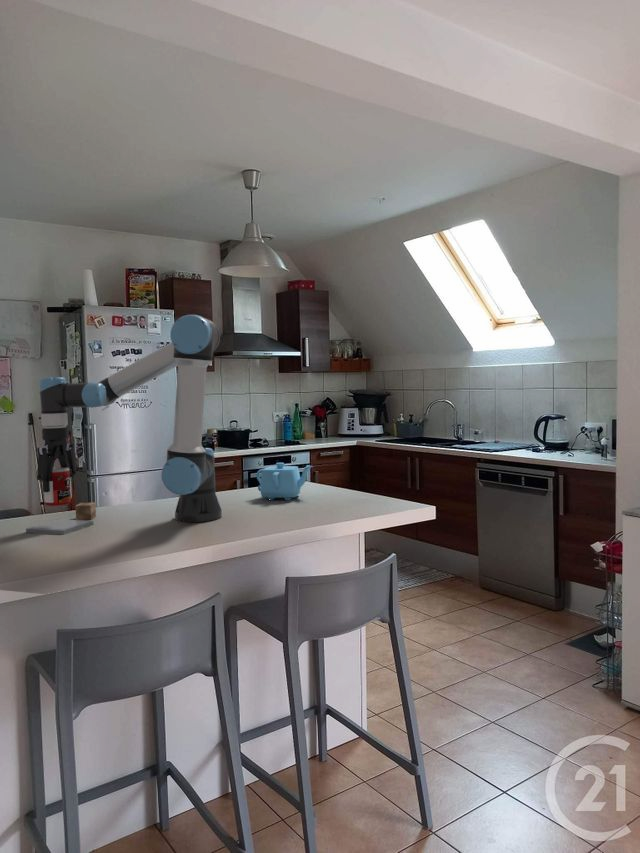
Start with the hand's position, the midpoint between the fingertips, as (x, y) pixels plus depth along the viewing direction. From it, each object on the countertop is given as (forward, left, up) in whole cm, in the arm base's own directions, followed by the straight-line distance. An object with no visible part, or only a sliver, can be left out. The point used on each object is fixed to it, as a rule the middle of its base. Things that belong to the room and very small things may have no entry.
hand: (58, 499), depth 208 cm
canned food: (0, 0, -1) cm, 2 cm away
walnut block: (+2, -15, -9) cm, 18 cm away
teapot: (-51, -63, -9) cm, 82 cm away
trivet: (0, 0, -9) cm, 9 cm away
